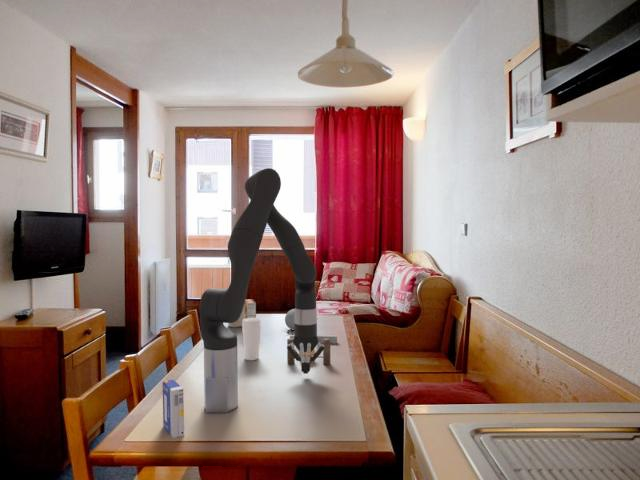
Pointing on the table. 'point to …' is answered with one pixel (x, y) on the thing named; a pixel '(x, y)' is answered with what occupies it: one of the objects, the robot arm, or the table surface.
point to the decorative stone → (290, 319)
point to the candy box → (250, 308)
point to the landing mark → (314, 349)
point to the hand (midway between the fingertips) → (305, 372)
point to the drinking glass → (251, 337)
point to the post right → (326, 352)
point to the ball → (306, 354)
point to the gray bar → (320, 337)
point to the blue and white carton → (173, 408)
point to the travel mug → (239, 321)
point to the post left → (289, 356)
